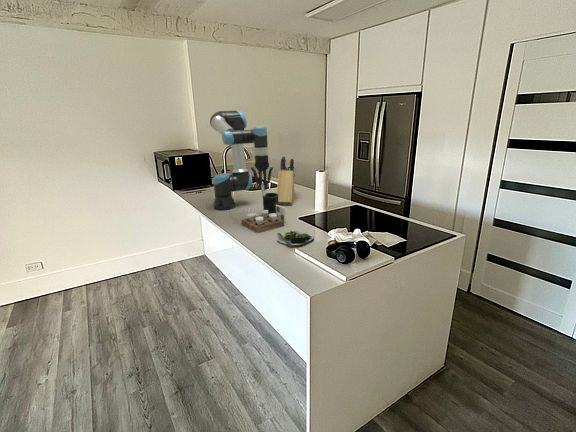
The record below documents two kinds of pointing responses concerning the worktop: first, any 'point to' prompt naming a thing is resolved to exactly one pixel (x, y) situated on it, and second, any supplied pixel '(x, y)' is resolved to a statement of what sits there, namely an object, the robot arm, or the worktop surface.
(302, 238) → the salad plate
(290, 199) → the knife block
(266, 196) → the mug
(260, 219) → the button
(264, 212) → the button
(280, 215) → the card
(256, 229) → the board
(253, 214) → the button
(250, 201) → the worktop surface
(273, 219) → the button
